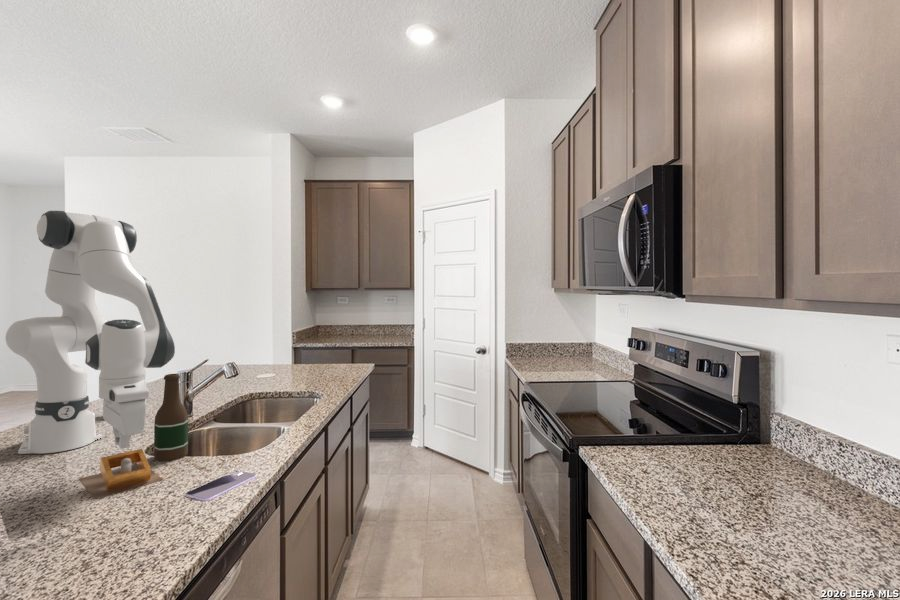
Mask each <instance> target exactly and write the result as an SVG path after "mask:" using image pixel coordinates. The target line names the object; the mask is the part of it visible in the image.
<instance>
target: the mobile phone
mask: <svg viewBox="0 0 900 600" xmlns="http://www.w3.org/2000/svg"><path fill="white" fill-rule="evenodd" d="M256 478H258V475H257V474H256V473H253V472H248V471H243V470H235V473H230V474H227V475H224V476H221V477H219V478H217V479H215V480H212V481H210V482H207V483H205V484H202V485H201V486H199V487H196V488H194V489H191V490H189V491H187V492H186V493H185V494H184V497H186V498H190V499H193V500H197V501H201V502H208V501H212V500H213V499H216V498H217V497H220V496H222V495H224V494H226V493H228V492H229V491H232V490H234V489H236V488H238V487H240V486H242V485H244V484H246V483H248V482H251V481H252V480H253V479H254V480H255V479H256Z"/></svg>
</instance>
